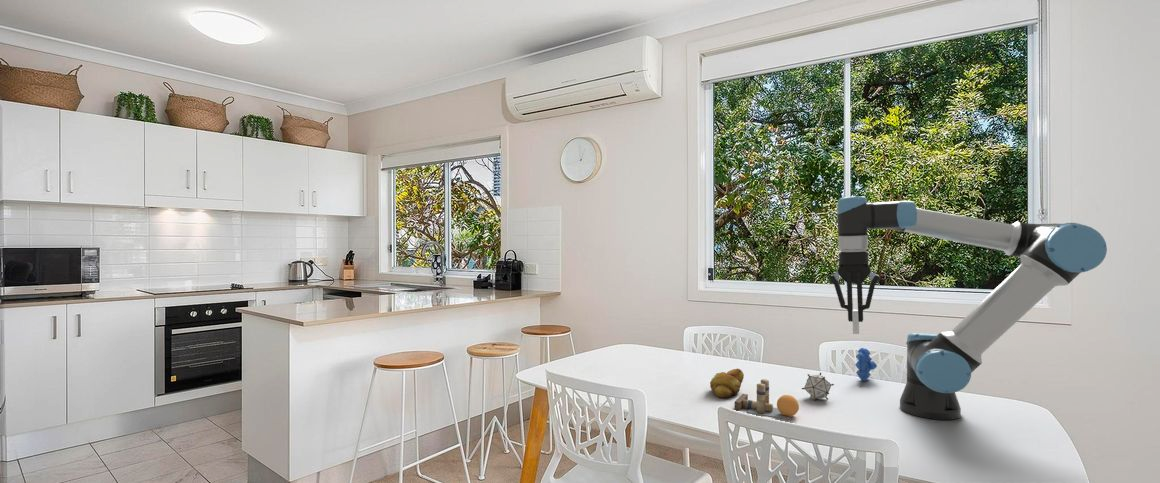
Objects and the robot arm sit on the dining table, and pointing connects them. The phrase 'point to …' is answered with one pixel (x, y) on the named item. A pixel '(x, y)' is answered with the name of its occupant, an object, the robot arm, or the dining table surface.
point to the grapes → (864, 364)
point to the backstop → (740, 401)
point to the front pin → (753, 405)
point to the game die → (817, 386)
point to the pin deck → (770, 413)
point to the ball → (787, 405)
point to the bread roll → (727, 383)
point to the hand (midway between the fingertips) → (856, 332)
